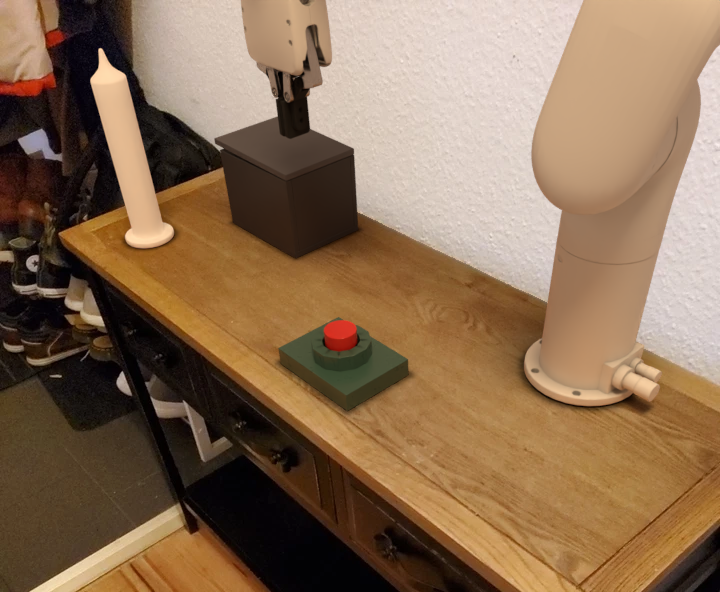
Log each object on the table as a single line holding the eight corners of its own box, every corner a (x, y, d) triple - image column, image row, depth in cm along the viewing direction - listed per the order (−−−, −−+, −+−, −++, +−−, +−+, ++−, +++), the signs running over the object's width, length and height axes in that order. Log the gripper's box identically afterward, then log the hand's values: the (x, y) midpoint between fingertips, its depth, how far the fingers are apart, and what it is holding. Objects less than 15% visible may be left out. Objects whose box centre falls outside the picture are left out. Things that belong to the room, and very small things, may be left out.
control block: (408, 375, 83) (408, 345, 80) (347, 411, 79) (345, 381, 76) (339, 332, 90) (337, 303, 87) (280, 363, 86) (275, 334, 83)
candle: (182, 238, 109) (137, 48, 91) (137, 253, 106) (82, 61, 88) (162, 221, 113) (116, 36, 95) (119, 235, 110) (63, 48, 92)
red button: (364, 342, 81) (363, 329, 80) (339, 356, 80) (338, 342, 79) (343, 329, 83) (342, 316, 82) (318, 342, 82) (317, 329, 81)
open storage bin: (232, 222, 111) (219, 149, 104) (293, 197, 116) (285, 126, 109) (295, 258, 103) (286, 181, 95) (358, 229, 108) (354, 154, 100)
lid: (214, 144, 104) (213, 138, 103) (280, 120, 109) (280, 115, 108) (286, 181, 95) (285, 175, 94) (354, 154, 100) (354, 148, 100)
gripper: (351, -59, 70) (361, 141, 83) (261, -74, 78) (283, 110, 91) (287, -45, 67) (308, 161, 80) (201, -62, 75) (232, 127, 88)
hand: (295, 133), depth 85 cm, fingers closed
